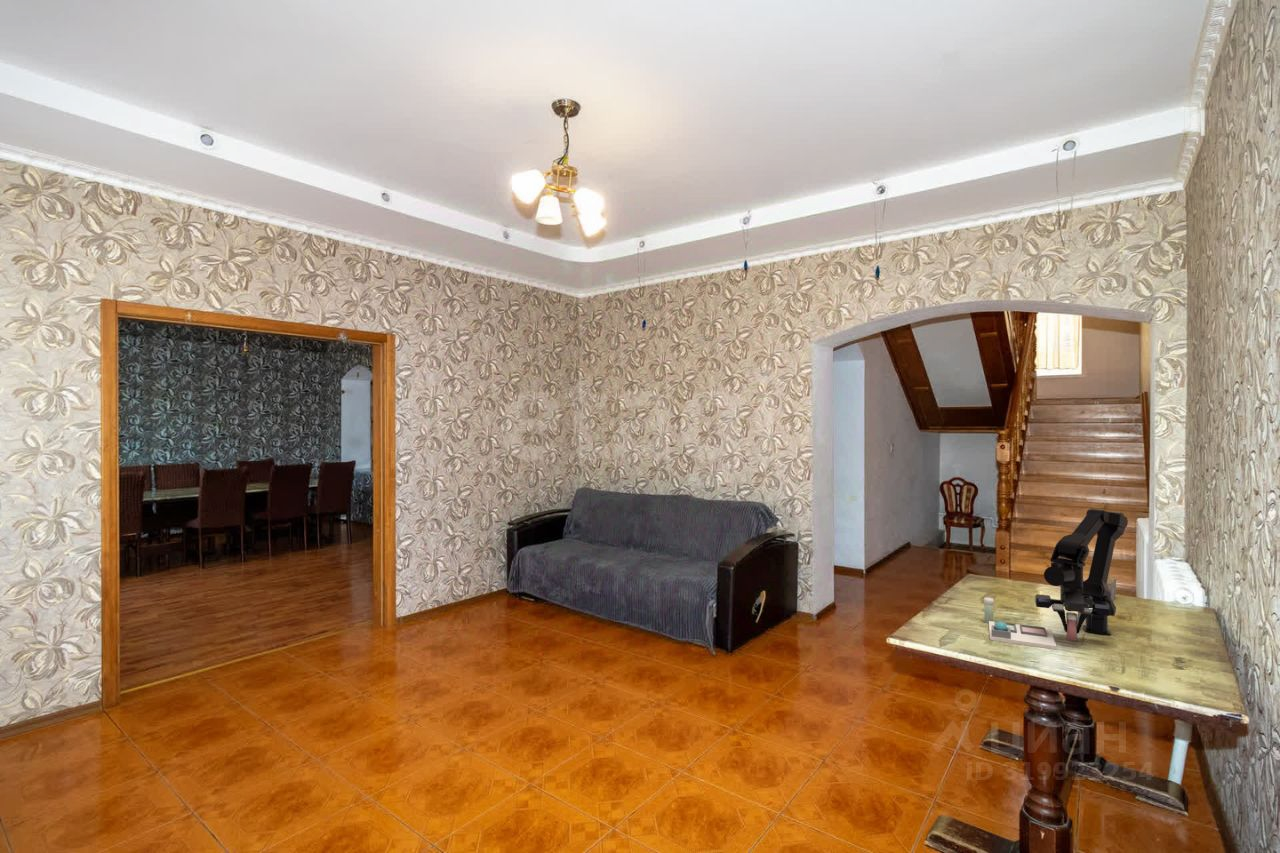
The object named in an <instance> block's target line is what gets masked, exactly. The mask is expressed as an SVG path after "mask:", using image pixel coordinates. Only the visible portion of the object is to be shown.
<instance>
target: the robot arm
mask: <svg viewBox="0 0 1280 853" xmlns="http://www.w3.org/2000/svg"><path fill="white" fill-rule="evenodd" d="M1085 514H1086V515H1085V516H1084V518H1083V519H1082V520H1081V521H1080V523H1079V524H1078V525H1077V527H1076V528H1075V530H1074V531H1073V532H1072V533H1070V534H1067V535H1065V536H1063V537H1061V538H1060V539H1059V540H1058V541H1057V543H1056V545H1055V547H1054V549H1053V552H1052V554H1051V557H1050V561H1049V562H1051V563H1050V566H1048V567H1047V568H1046V569H1045V570H1044V572H1043V578H1044V579H1045V581H1046V582H1047V584H1049V585H1051V586H1053V587H1060V588H1059V589H1060V590H1059V591H1060V592H1059V593H1060V599H1055V598H1052V597H1051V596H1050V595H1046V594H1040V593H1039V594H1035V595H1034V604H1035V607H1037V608H1044V609H1050V608H1052V611H1053V612H1055V613H1057V614H1058V617H1059V618H1060V620H1061V623H1062V624H1061V625H1062V626H1063V630H1064V632H1065V633H1066V632H1067V618H1066V611H1067V612H1075V613H1077V635H1078V634H1080V631H1081V628H1083V630H1084V632H1086V633H1091V634H1097V635H1098V634H1100V635H1106V636H1111V635H1112V634H1111V632H1110V629H1109V628H1108V627H1109V626H1108V625H1109V618H1108V617H1111V616H1112V617H1115V614H1116V612H1117V611H1116V610H1117V607H1116V605H1115V603H1114V600H1113V601H1112V600H1111V598H1110V597H1111V592H1110V590H1109V588H1108V586H1107V579H1108V574H1110V570H1111V569H1110V568H1111V564H1112V558H1113V554H1114V549H1115V545H1116V541H1117V540H1118V539H1119V538H1121V536H1123V535H1124V534H1125V531H1126V528H1127V527H1128V524H1129V523H1128V522H1129V519H1128V518H1127V516H1125V515H1124V513H1122V512H1117V511H1115V512H1114V511H1107V510H1104V509H1097V508H1095V509H1094V508H1091V509H1088V510H1087V511H1086V513H1085ZM1096 535H1097V537H1096V540H1095V546H1094V549H1093V555H1092V559H1091V564H1090V568H1089V573H1088V577H1087V578H1086V579H1085V580H1084V567H1085V566H1086V563H1085V562H1086V560H1087V557H1088V556H1089V552H1090V548H1089V545H1090V543H1091V541H1092V540H1093V539H1094V537H1095V536H1096ZM1084 622H1085V624H1084Z"/></svg>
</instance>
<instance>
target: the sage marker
mask: <svg viewBox="0 0 1280 853" xmlns="http://www.w3.org/2000/svg"><path fill="white" fill-rule="evenodd" d="M983 600H984V601H983V604H984V605H983V606H984V610H983V611H984V612H983V613H984V614H983V615H984V620H983V621H984V623H986V624H989V621H993V622H994V601H995V600H994V598H993V597H990V596H989V597H988V596H987V597H986V596H985V597H984V599H983Z"/></svg>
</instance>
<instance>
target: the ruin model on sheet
mask: <svg viewBox="0 0 1280 853" xmlns="http://www.w3.org/2000/svg"><path fill="white" fill-rule="evenodd" d="M1107 586H1108V588H1109V590H1110V592H1111V597H1110V598H1111V600H1112V601H1113V602H1114V600H1116V598H1117V578H1116V576H1115V575H1113V574H1111V573H1109V574H1108V579H1107ZM1115 595H1116V596H1115Z"/></svg>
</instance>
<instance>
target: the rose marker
mask: <svg viewBox="0 0 1280 853" xmlns="http://www.w3.org/2000/svg"><path fill="white" fill-rule="evenodd" d="M1077 615H1078V613H1077V612H1072V611H1067V612H1065V618H1066V624H1067V632H1065V633H1066V640H1067V641H1070V642H1077V641H1078V634H1077Z"/></svg>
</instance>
